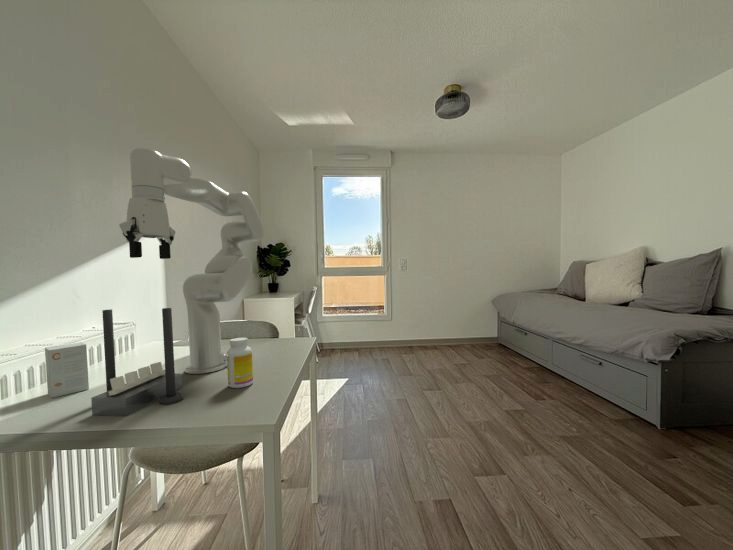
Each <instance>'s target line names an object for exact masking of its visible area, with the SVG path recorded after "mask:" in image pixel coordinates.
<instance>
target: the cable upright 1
mask: <svg viewBox="0 0 733 550" xmlns="http://www.w3.org/2000/svg"><path fill="white" fill-rule="evenodd" d="M102 328H103V346H104V363H105V364H104V365H105V384H106V392H107V391H109V390H112V386H111V382H110V379H112V378H115V377H117V376H116V375H117V373H116V354H115V337H114V317H113V309H111V308H110V309H103V310H102Z"/></svg>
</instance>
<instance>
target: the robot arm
mask: <svg viewBox="0 0 733 550" xmlns="http://www.w3.org/2000/svg"><path fill="white" fill-rule="evenodd" d="M129 157H130V158H129V159H130V162H129V163H130V182H131V183H130V184H131V197H130V198H129V199H128V203H127V210H126V220H124V221H123V222H120V223H119V225H118V226H119V228H120V229H121V232H122V236H124V238H125V239H126V240H125V241H126V242H127V243H128V244H129V245H128V246H129V247H128V248H129V258H131V259H135V258H136V259H137V258H141V257H143V248H142V247H143V246H142V241H140V240H141V239H142V238H146V239H147V238H148V239H157V241H158V242H159V245H158V251H159V252H158V253H159V254H158V256H159V259H161V260H165V259H166V260H168V259H171V257H172V256H171V245H172V244H173V243H172V242H174V240H175V235H176V234H177V233H176V230H175V229H173V228H172V227H171V226H170V222H169V215H168V209H167V204H166V202H165V199H166V197H165V196H169V197H172V198H174V199H179V200H183V201H187V202H191V203H195V204H198V205H200V206H201V207H204V208H206V209H207V210H209V211H211V212H213V213H216V214H217V215H219V216H221V217H235V216H237V217H238V216H243V219H244V220H243V219H242V220H235V221H234V220H233V221H229V222H226V223H225V224H223V225H222V227H221V229H220V238H221V249H220V250H219V251H218V252H217V253H216V254H215V255H214V256H213V257H212V258H211V260H209V261H208V263H207V264H206V265H205V267H204V268H205V269H204V273H196V274H193V275H190V276H188V277H187V278H186V279H185V280H184V282H183V284H182V293H183V297H184V300H185V304H186V310H187V323H188V325H187V326H188V344H189V345H188V346H189V360H190V361H189V365H187V366H185V368H184V372H185V373H186V374H192V375H199V374H200V375H201V374H202V375H203V374H209V373H212V372H213V373H214V372H216V371H217V372H218V371H221V370H223V369H225V368H226V367H227V353H224V352H223V351H222V336H221V334H222V333H221V317H220V316H221V314H220V311H219V309H218V307H217V305H216V303H227V302H231V301H233V300H234V299H236V298H237V297H238V295H239V294H240V292H241V291H242V290H243V289H244V287H245V286H246V284H247V283H248V282H249V280H250V279H251V276H252V274H253V273H252V272H253V264H252V261H251V259H250V258H249V257H248V256H246V255H244V252H243V250H242V248H241V247H240V246H239V245H240V243H241V244H243V243H254V242H259V241H261V240H262V239H263V238H264V236H265V227H264V224H263V221H262V219H261V216H260V214H259V211H258V209H257V207H256V205H255V203H254V201H253V199H252V197H251V196H250V195H249V194H248V192H246V191H234V192H227V191H226V190H224V189H222V188H221V187H219V186H218V185H216V184H215V183H213V182H212V181H210V180H209V179H208V180H207V179H204V178H196V177H193V178H192V169H191V166H190V165H189V164H188V162H187V161H185V160H184V159H182V158H180V157H177V156H172V155H167V154H162V153H160V152H158V151H157V150H155V149H151V148H146V147H138V148H137V147H136V148H133V149H131V151H130V154H129Z"/></svg>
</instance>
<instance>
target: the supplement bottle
mask: <svg viewBox="0 0 733 550" xmlns="http://www.w3.org/2000/svg"><path fill="white" fill-rule="evenodd" d="M248 339H249V338H248V337H237V338H231V339H229V346H230V348H229V349H227V351H226V354H227V361H226V362H227V366H226V367H227V369H226V370H227V385H228V386H229V387H230V388H233V389H240V388H241V389H242V388H245V387H246V388H247V387H248V386H251V385H252V384H253V383H254V368H253V365H254V364H253V351H252V348H251V347H250V346H248V342H249V341H248Z"/></svg>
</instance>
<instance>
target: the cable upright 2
mask: <svg viewBox="0 0 733 550" xmlns="http://www.w3.org/2000/svg"><path fill="white" fill-rule="evenodd" d="M172 311H173V310H172V307H164V308H161V313H162V333H163V334H162V335H163V351H164V352H163V354H164V356H163V357H164V370H165V376H166V395H163V396H161V397H160V399H159V404H160V405H163V406H165V405H167V406H168V405H173V404H177V403H179V402H182V401H183V399H184V398H183V392H180V391H176V389H175V374H176V373H175V372H176V371H175V354H174V353H175V352H174V337H173V335H174V334H173V333H174V332H173V330H174V329H173V316H172V314H173V313H172Z"/></svg>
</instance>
